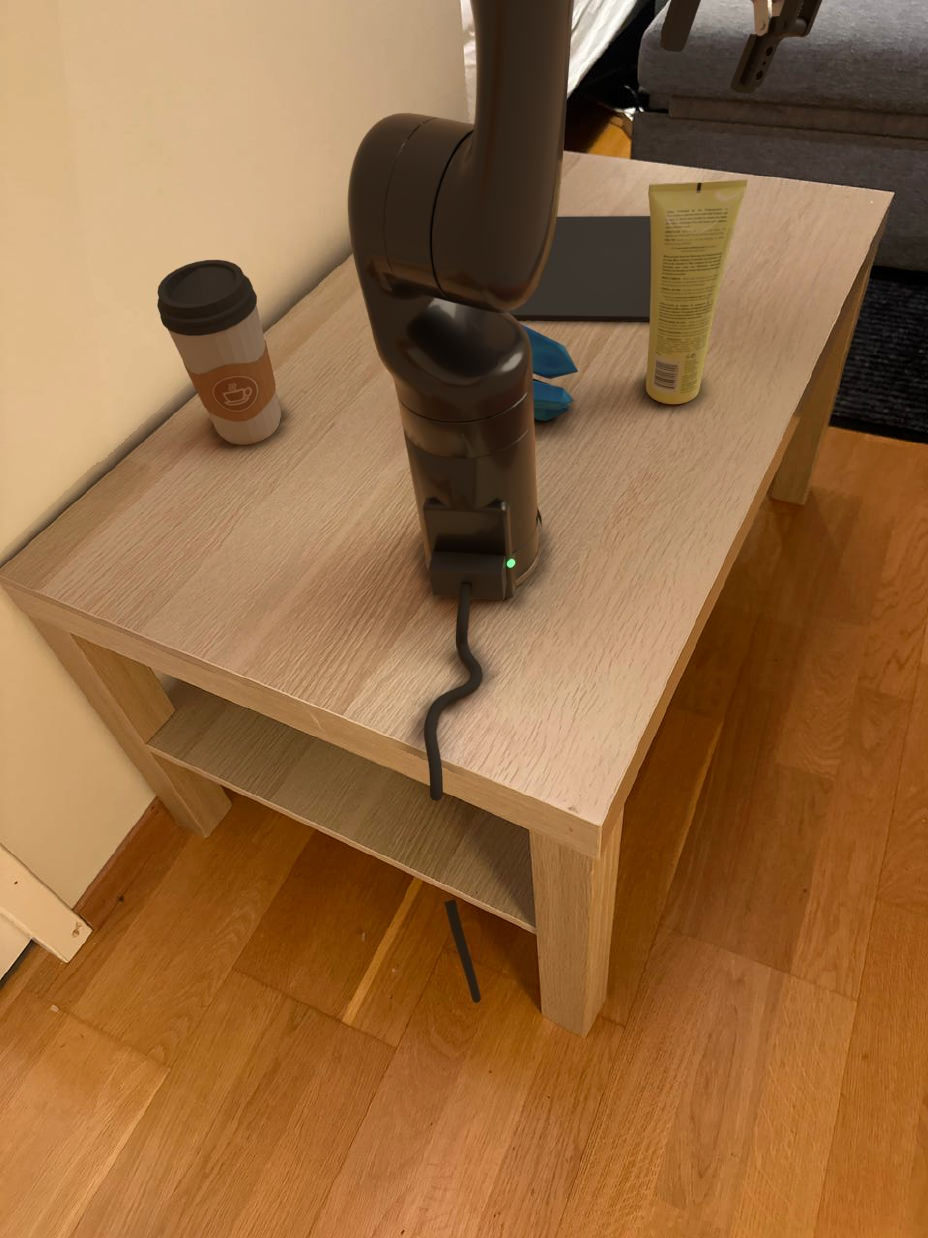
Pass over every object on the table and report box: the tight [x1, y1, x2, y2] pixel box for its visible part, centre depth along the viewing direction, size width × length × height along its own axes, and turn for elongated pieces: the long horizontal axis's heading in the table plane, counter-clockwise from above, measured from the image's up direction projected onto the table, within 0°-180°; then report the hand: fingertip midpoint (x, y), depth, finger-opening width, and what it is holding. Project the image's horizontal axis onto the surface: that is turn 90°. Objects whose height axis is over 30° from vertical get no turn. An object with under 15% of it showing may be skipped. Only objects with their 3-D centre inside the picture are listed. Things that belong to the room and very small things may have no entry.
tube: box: [645, 178, 748, 405], centre depth 76 cm, size 6×5×20 cm
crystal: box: [520, 323, 579, 422], centre depth 81 cm, size 7×9×12 cm
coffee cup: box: [156, 259, 282, 445], centre depth 81 cm, size 8×8×15 cm
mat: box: [508, 215, 651, 322], centre depth 98 cm, size 20×22×1 cm
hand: (705, 69), depth 70 cm, fingers open, 8 cm apart
